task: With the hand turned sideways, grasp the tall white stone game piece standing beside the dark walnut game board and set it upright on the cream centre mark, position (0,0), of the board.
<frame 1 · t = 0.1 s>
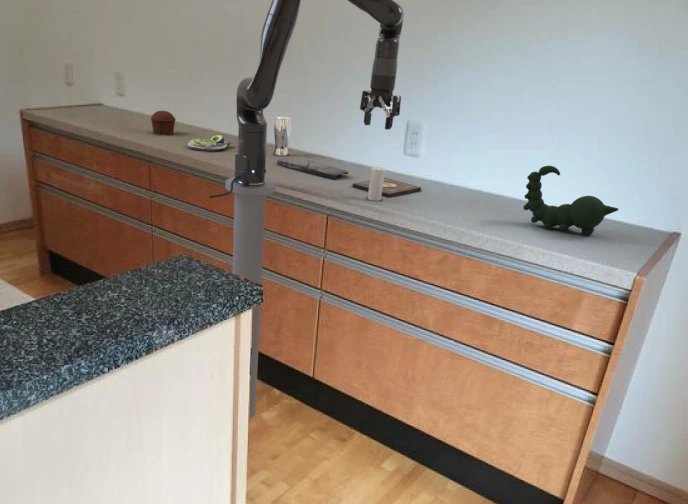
hand: (377, 127, 194), 22 cm above the worktop, tool pointing down, fingers open, 8 cm apart
salad plate: (208, 147, 258), on the worktop
muffin: (163, 133, 282), on the worktop
game board: (386, 188, 211), on the worktop
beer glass: (280, 155, 254), on the worktop
stone slab: (312, 170, 230), on the worktop
toy figurine: (562, 230, 178), on the worktop
stone piece: (374, 199, 197), on the worktop
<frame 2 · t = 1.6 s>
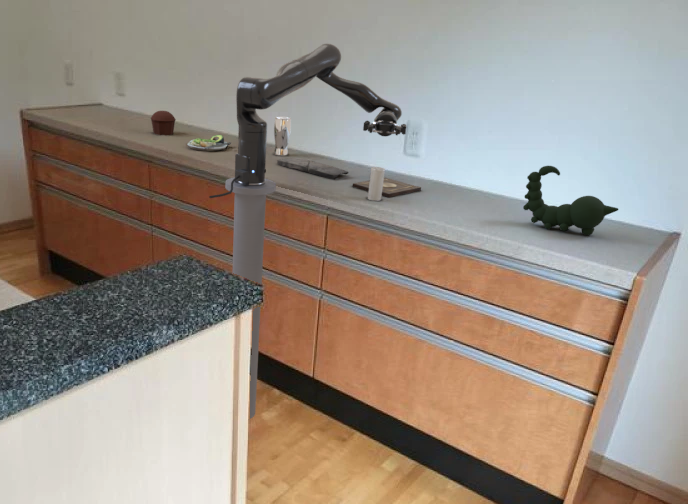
hand: (383, 130, 198), 20 cm above the worktop, tool horizontal, fingers open, 8 cm apart
nothing on the worktop moved.
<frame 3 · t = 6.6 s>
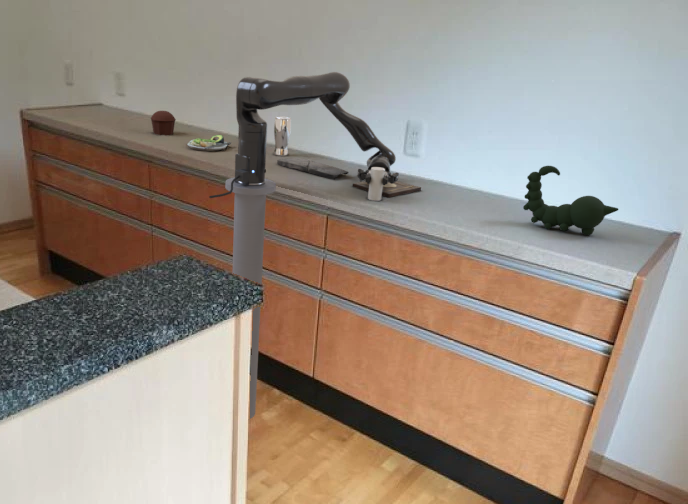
hand: (376, 181, 192), 7 cm above the worktop, tool horizontal, fingers closed on stone piece, 4 cm apart
stone piece: (374, 199, 197), on the worktop, touching gripper
everything else where it was.
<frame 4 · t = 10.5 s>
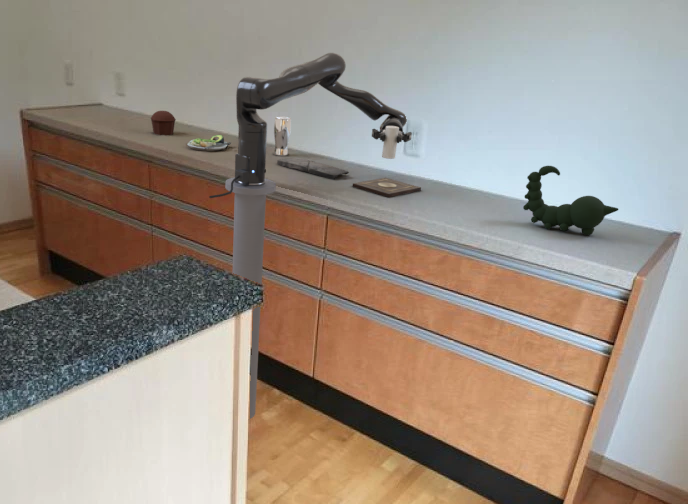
hand: (390, 139, 198), 18 cm above the worktop, tool horizontal, fingers closed on stone piece, 4 cm apart
stone piece: (388, 157, 203), point 11 cm above the worktop, touching gripper
everything else where it was.
when the fingers open (8 cm above the worktop, at t = 14.2 s): stone piece stays where it is, resting on game board.
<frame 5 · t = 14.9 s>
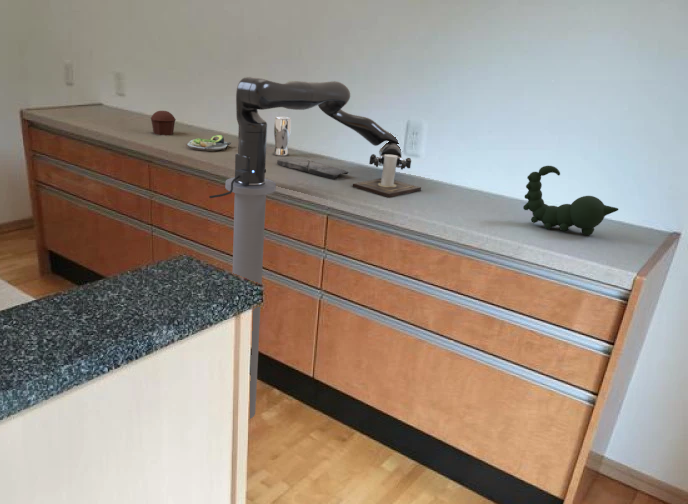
hand: (389, 165, 206), 9 cm above the worktop, tool horizontal, fingers open, 8 cm apart
stone piece: (387, 184, 210), point 1 cm above the worktop, touching game board
everything else where it was.
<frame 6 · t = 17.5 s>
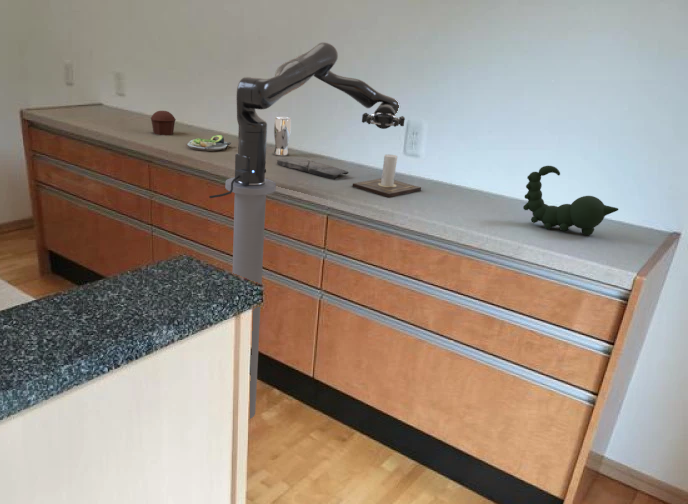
hand: (382, 122, 200), 23 cm above the worktop, tool horizontal, fingers open, 8 cm apart
nothing on the worktop moved.
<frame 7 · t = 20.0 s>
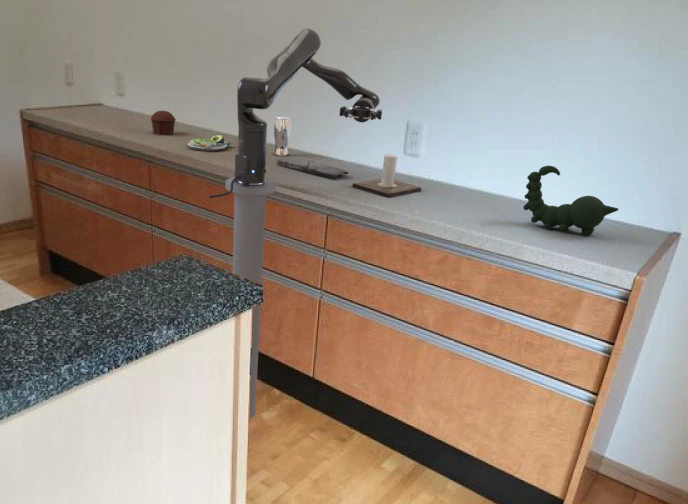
hand: (359, 115, 200), 24 cm above the worktop, tool horizontal, fingers open, 8 cm apart
nothing on the worktop moved.
at the end: stone piece 0.1 cm off-centre on the game board, point 1.4 cm above the game board's base; stone piece tilted 0°; the gripper is holding nothing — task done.
